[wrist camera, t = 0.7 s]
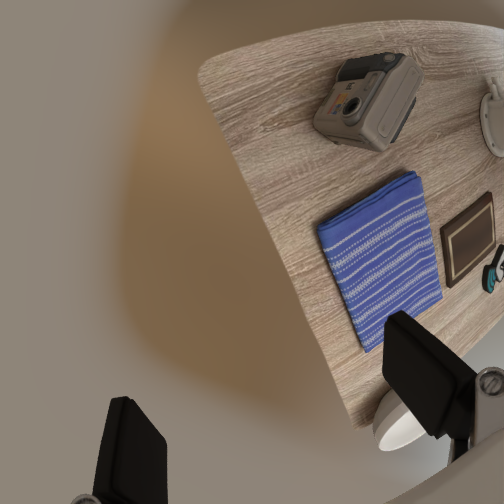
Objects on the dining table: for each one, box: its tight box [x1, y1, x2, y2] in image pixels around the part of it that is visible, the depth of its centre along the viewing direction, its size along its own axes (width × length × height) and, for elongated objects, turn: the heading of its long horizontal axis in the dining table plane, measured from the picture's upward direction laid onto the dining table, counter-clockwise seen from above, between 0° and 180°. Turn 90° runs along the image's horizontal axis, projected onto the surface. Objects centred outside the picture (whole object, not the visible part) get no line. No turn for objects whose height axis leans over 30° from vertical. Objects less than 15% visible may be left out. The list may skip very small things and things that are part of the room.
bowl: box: [373, 389, 426, 451], centre depth 46 cm, size 19×19×9 cm
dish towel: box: [317, 170, 443, 353], centre depth 37 cm, size 17×24×3 cm
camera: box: [313, 52, 425, 152], centre depth 25 cm, size 11×6×10 cm, turn 148°
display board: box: [440, 192, 496, 288], centre depth 40 cm, size 12×16×1 cm
